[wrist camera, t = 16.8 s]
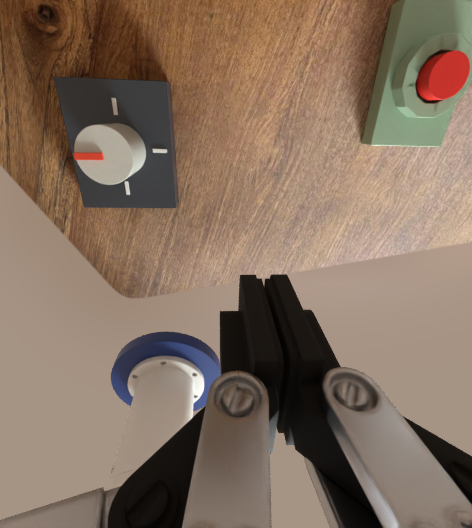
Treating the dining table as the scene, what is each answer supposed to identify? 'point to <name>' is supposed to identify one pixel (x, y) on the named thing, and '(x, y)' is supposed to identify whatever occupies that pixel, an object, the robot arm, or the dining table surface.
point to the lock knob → (109, 152)
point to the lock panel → (138, 118)
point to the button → (443, 76)
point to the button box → (416, 72)
